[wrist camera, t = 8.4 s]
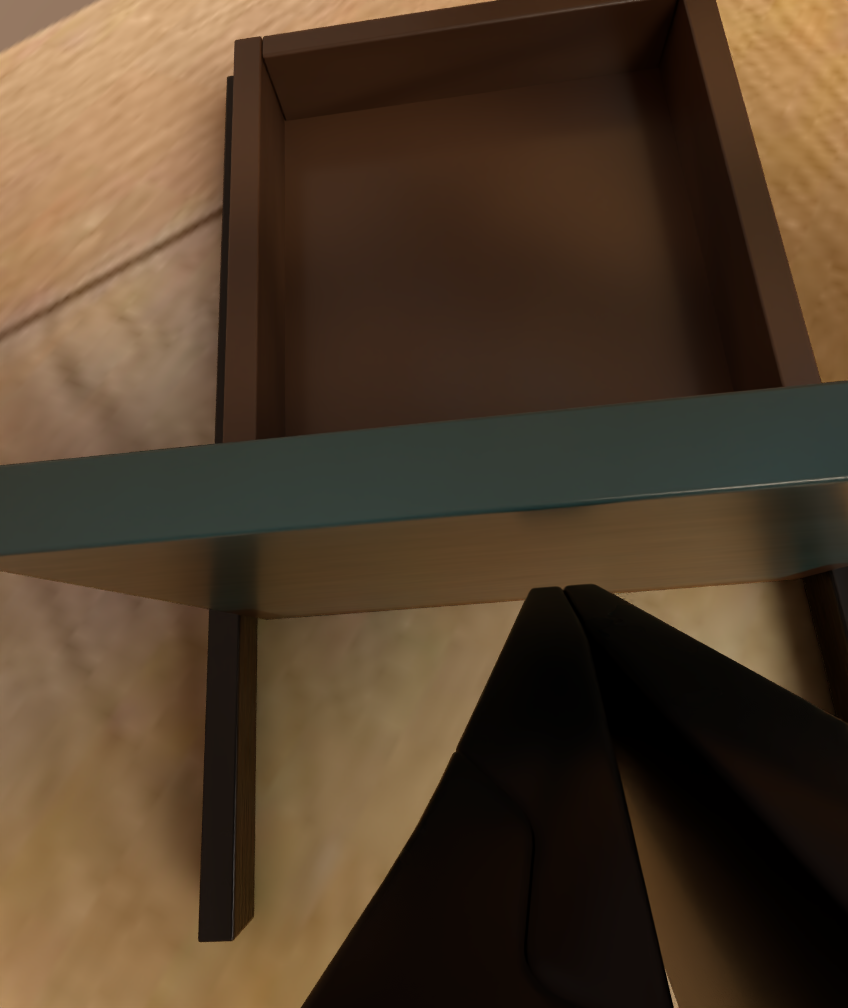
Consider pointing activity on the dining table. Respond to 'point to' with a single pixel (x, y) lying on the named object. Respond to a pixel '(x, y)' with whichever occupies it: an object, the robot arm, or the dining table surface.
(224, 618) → the frame
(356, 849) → the dining table surface
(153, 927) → the dining table surface
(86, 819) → the dining table surface
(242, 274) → the tray
